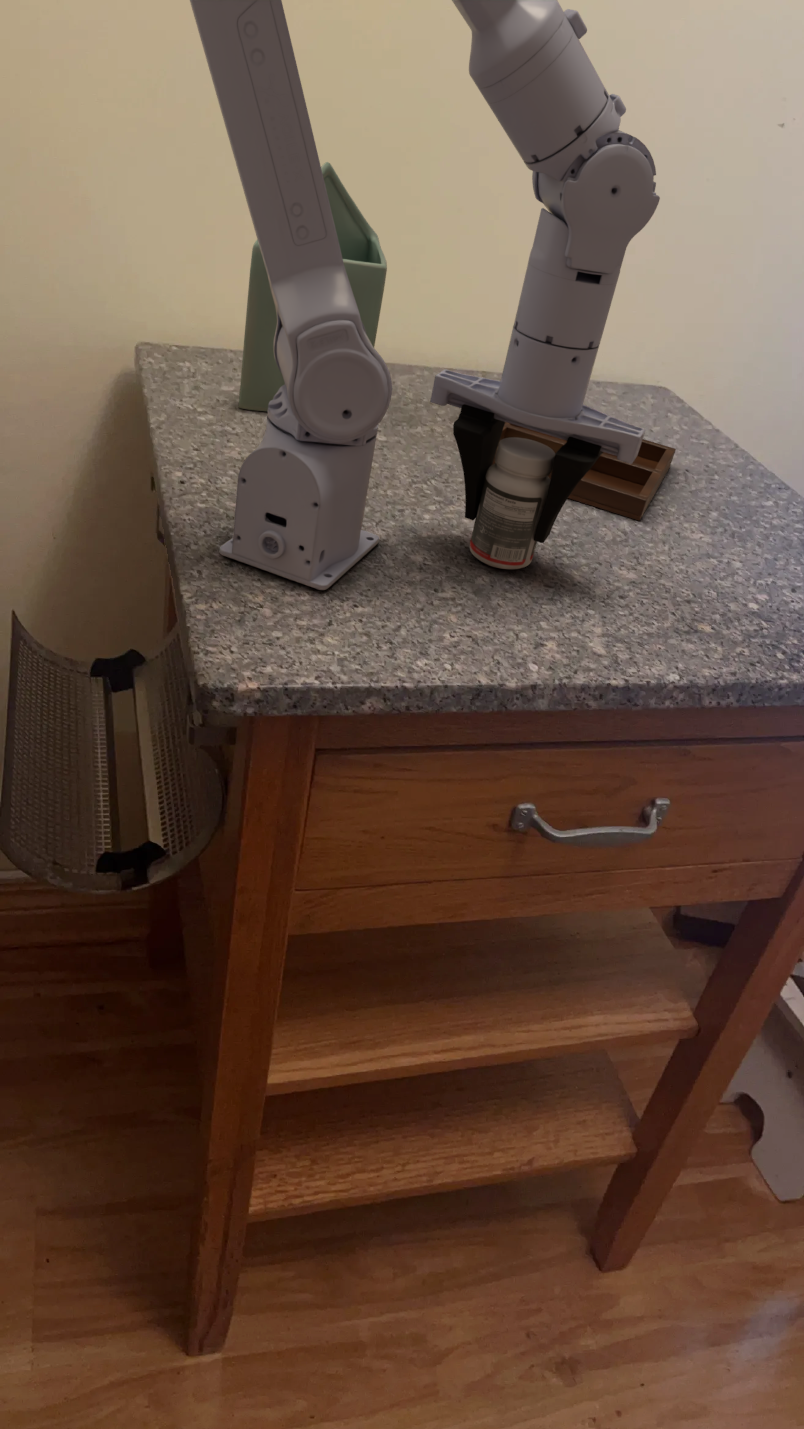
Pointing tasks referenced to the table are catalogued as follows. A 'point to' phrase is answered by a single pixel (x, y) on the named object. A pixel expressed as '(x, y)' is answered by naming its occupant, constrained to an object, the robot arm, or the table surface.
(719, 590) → the table surface
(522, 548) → the pill bottle
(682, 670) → the table surface
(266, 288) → the green tall open box
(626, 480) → the tray
